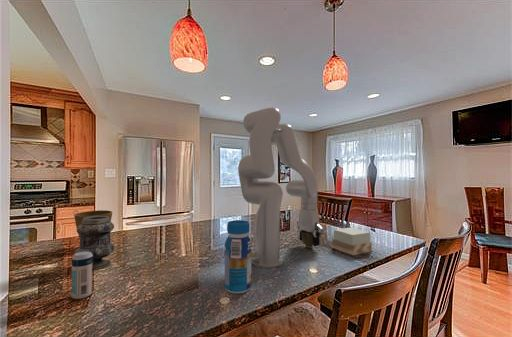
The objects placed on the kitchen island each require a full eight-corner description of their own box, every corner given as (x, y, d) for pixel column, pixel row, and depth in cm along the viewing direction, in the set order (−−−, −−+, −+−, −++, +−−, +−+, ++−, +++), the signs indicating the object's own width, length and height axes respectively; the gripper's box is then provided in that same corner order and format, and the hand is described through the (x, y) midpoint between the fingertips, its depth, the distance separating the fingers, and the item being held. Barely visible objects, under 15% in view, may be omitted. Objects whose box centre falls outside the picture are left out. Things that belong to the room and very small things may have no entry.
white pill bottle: (95, 291, 72) (96, 250, 72) (84, 300, 67) (85, 256, 67) (78, 292, 71) (79, 250, 72) (66, 300, 67) (67, 256, 67)
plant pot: (71, 246, 114) (72, 212, 115) (108, 240, 124) (108, 209, 125) (75, 254, 103) (76, 216, 104) (115, 247, 113) (115, 213, 113)
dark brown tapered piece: (315, 245, 118) (315, 229, 118) (318, 250, 111) (318, 232, 111) (300, 245, 119) (300, 228, 119) (301, 250, 112) (301, 232, 112)
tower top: (352, 245, 105) (352, 235, 105) (333, 239, 115) (333, 229, 115) (370, 242, 110) (370, 232, 110) (350, 236, 120) (350, 227, 120)
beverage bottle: (218, 287, 75) (218, 221, 75) (239, 279, 80) (239, 218, 81) (236, 297, 69) (236, 226, 69) (257, 288, 74) (257, 222, 75)
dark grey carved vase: (116, 258, 99) (116, 213, 100) (110, 269, 88) (111, 219, 88) (80, 262, 95) (81, 215, 95) (70, 274, 84) (71, 221, 84)
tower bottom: (353, 256, 105) (353, 245, 105) (332, 248, 115) (332, 239, 115) (371, 252, 110) (371, 242, 110) (350, 245, 121) (349, 236, 121)
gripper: (291, 204, 121) (291, 239, 121) (315, 209, 106) (315, 249, 106) (303, 203, 125) (303, 237, 124) (328, 208, 109) (328, 246, 109)
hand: (309, 242), depth 115 cm, fingers open, 9 cm apart
